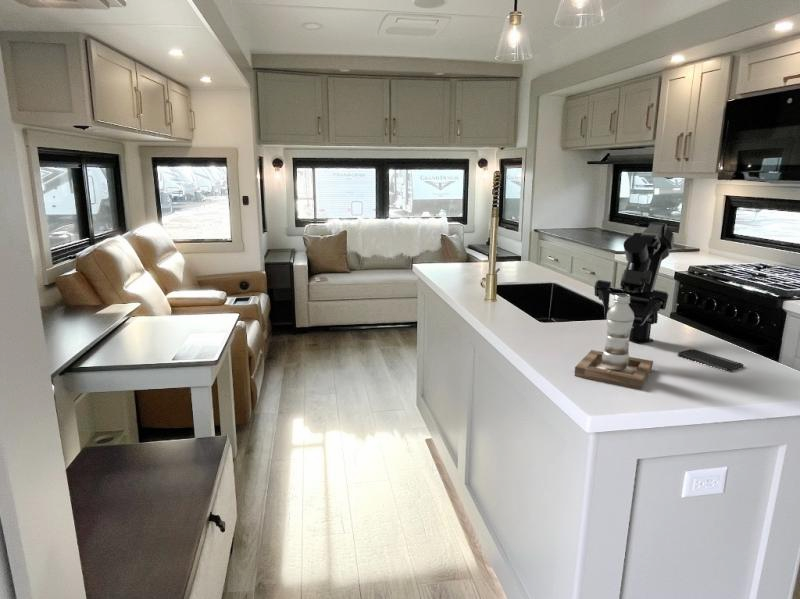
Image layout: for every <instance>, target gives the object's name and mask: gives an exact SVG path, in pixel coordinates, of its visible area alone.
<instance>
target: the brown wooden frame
mask: <svg viewBox="0 0 800 599" xmlns="http://www.w3.org/2000/svg"><path fill="white" fill-rule="evenodd" d="M602 355H603V351H599V350H595V349H591V350H590V351H589V352H588V353H587V354H586V355H585V356H584V357H583V358H582V359H581V361H579V363H578V364H577V365H575V367H574V377H579V378H584V379H588V380H594V381H599V382H603V383H608V384H613V385H618V386H623V387H627V388H632V389H635V390H636V389H638V390H642V388H643V386H644V384H645V382H646V381H647V379H648V378H649V376H650V374H651V373H652V371H653V365H654V360H650V359H644V358H638V357H632V356H629V364H628V367H627V368H626V369H625V370H621V371H616V370H610V369H607V368H605V367H604V366H603V364H602Z"/></svg>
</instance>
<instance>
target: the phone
mask: <svg viewBox="0 0 800 599" xmlns="http://www.w3.org/2000/svg"><path fill="white" fill-rule="evenodd" d="M677 357H679V358H681V357H682V359H685V358H686V359H685V360H688V359H689V361H691V360H692V362H694V361H696V362H695V363H697V362H699V363H698V364H700V363H702V364H701V365H703V364H706V365H705V366H707V365H708V366H707V367H710V366H712V367H711V368H713V367H715V368H714V369H716V368H718V369H717V370H719V369H722V370H725V371H724V372H726V371H732V372H734V371H733V370H735V371H737V370H736V369H738V370H740V369H739V368H741V369H743V368H744V364H743V363H741V362H738V361H735V360H731V359H728V358H726V357H725V358H724V357H722V356H721V357H720V356H718V355H714V354H712V353H707V352H704V351H700V350H698V349H695V348H692V349H687V350H683V351H678V352H677ZM742 367H743V368H742ZM722 370H721V371H722Z"/></svg>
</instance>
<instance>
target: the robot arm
mask: <svg viewBox="0 0 800 599" xmlns="http://www.w3.org/2000/svg"><path fill="white" fill-rule="evenodd" d="M674 245H675V238H674V233H673V231H672V230H670V229H669V228H668V227H667V223H665V222H649V223H648V224H647V227H646V229H644V230H643V231H642V232H634V233H633V234H632V235H631V236H628V237H627V238H626V239H625V240H624V242H623V248H624V249H623V250H624V254H625V259H626V261H627V264H626V268H625V269H624V270H623V275H622V276H621V280H620V288H619V287H614V286H612V281H608V280H602V279H598V280H596V281H595V284H594V287H593V288H594V296H596V297H597V298H598V300H600V301H602V305H603V312H604V319H607V312H608V310H609V309H610V308H609V306H610V301H611V300H610V296H611V295H615V294H627V295H630V303H629V306H630V307H631V309H632V311H633V313H634V321H633V325H632V328H631V332H630V336H629V342H633V343H635V344H643V343H649V342H654V339H653V338H651V330H652V329H651V328H652V325H654V324H658V319H659V314H658V313H659V312H660V311H661V310H664V311H665V310H666V308H667V303H668V298H669V293H668V291H662V290H657V289H655V286H656V282H657V279H658V275H659V272H660V267H661V265H662V261H663V260H664V259H666V258H668V257H669V256H670V252H671V250H673V249H674Z"/></svg>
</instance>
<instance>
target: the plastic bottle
mask: <svg viewBox="0 0 800 599" xmlns="http://www.w3.org/2000/svg"><path fill="white" fill-rule="evenodd" d="M613 295H614V299H613V303H614V304H613V305H612V306H611V307H610V308H608V312H607V318H606V340H605V344H604V348H603V351H602V352H603V355H602V364H603V366H604V367H605V368H607V369H610V370H616V371H621V370H625V369H626V368H627V367H628V364H629V357H630V355H629V354H630V353H629V350H630V349H629V348H630V344H629V343H630V340H629V336H630V332H631V328H632V325H633V321H634V313H633V311H632V309H631V307H630V306H629V303H630V295H627V294H613Z"/></svg>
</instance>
